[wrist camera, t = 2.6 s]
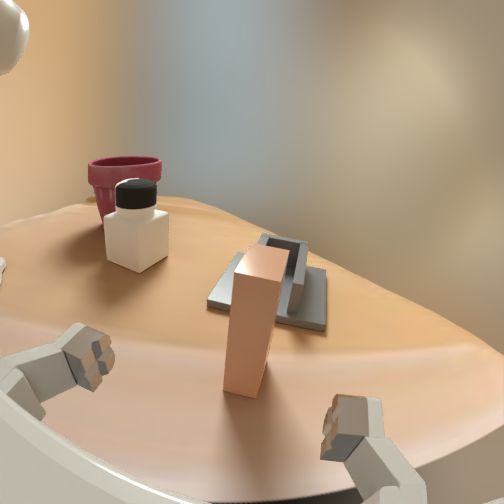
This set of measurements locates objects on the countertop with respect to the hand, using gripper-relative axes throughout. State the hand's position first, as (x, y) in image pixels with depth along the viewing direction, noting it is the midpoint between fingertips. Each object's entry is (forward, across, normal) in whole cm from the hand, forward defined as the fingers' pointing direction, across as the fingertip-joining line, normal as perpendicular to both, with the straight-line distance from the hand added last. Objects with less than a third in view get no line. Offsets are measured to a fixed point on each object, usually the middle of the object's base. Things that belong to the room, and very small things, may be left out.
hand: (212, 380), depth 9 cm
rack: (+28, 0, +13) cm, 31 cm away
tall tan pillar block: (+12, +1, +13) cm, 18 cm away
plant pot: (+39, +32, +13) cm, 52 cm away
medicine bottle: (+28, +22, +13) cm, 38 cm away
